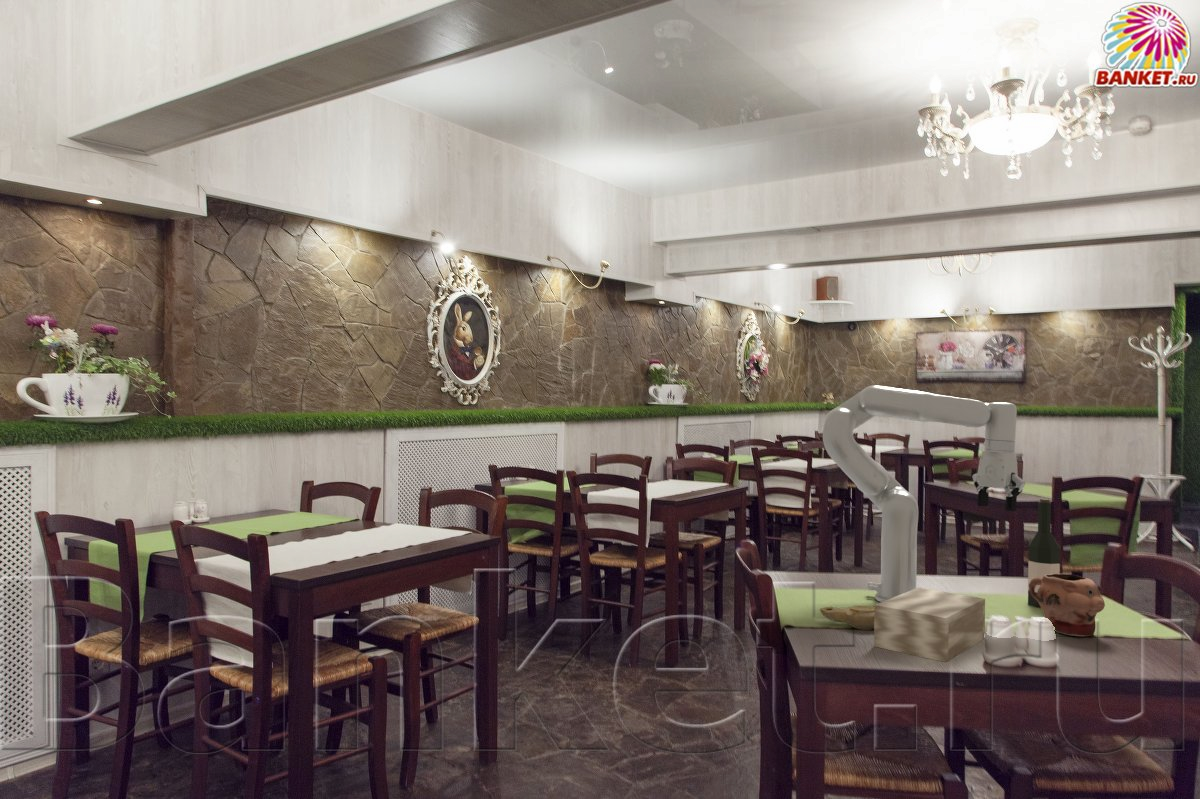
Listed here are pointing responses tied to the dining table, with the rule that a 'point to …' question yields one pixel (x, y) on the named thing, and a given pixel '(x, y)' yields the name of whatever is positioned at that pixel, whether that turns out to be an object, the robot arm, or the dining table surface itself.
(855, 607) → the oil lamp
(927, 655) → the mottled beige box
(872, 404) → the robot arm
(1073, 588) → the animal face pitcher
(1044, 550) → the wine bottle
